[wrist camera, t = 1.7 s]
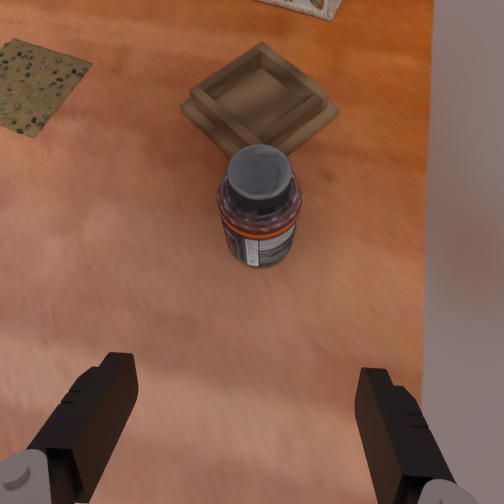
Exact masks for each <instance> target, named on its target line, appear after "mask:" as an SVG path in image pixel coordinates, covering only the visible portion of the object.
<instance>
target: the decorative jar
mask: <svg viewBox="0 0 504 504" xmlns="http://www.w3.org/2000/svg"><path fill="white" fill-rule="evenodd" d="M256 1H260V2H264V3H267V4H271V5H276V6H279V7H283V8H286V9H289V10H293V11H296V12H300V13H303V14H307V15H311V16H315V17H318V18H321V19H325V20H327V21H331V20H332V19H333V17H334V15H335V14H336V11H337V10H338V8H339V6H340V4H341V2H342V1H343V0H256Z"/></svg>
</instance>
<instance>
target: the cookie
mask: <svg viewBox="0 0 504 504" xmlns="http://www.w3.org/2000/svg"><path fill="white" fill-rule="evenodd" d="M91 66H92V63H90V62H87V61H84V60H81V59H77V58H74V57H71V56H69V55H65V54H61V53H58V52H55V51H51V50H48V49H45V48H42V47H40V46H36V45H32V44H29V43H26V42H23V41H20V40H17V39H12V40H11V41H10V42H8V43H5V44H4V47H3V48H1V50H0V126H2V127H5V128H8V129H9V130H12V131H15V132H17V133H20V134H24V135H26V136H28V137H32V138H34V137H36V136H37V135H38V133H39V132H40V131H41V130H42V129H43V127H44V125H45V124H46V123H47V122H48V121H49V119H50V118H51V116H52V115H53V114H54V113H55V112H56V111H57V110H58V108H59V107H60V105H61V104H62V103H63V101H64V100H65V99H66V98H67V96H68V95H69V94H70V92H71V91H73V88H74V87H75V86H76V85H77V84H78V83H79V82H80V81H81V79H82V77H83V76H84V75H85V74H86V72H87V71H88V70H89V68H90V67H91Z"/></svg>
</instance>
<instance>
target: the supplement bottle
mask: <svg viewBox="0 0 504 504" xmlns="http://www.w3.org/2000/svg"><path fill="white" fill-rule="evenodd" d="M217 202H218V207H219V212H220V216H221V220H222V224H223V227H224V232H225V235H226V240H227V244H228V247H229V249H230V251H231V253H232V254H233V256H234V257H235V258H236V259H237V260H238V261H239V262H240V263H242V264H244V265H246V266H248V267H252V268H259V269H262V268H268V267H271V266H274V265H276V264H278V263H279V262H280V261H281V260H283V259H284V257H285V256H286V255H287V254H288V252H289V249H290V247H291V245H292V241H293V237H294V233H295V229H296V225H297V221H298V217H299V213H300V208H301V203H302V189H301V185H300V182H299V180H298V178H297V176H296V175H295V173H294V172H293V171H292V168H291V163H290V161H289V159H288V158H287V156H286V155H285V154H284V153H283V152H281V151H280V150H279V149H277V148H275V147H273V146H269V145H265V144H256V145H250V146H247V147H245V148H243V149H241V150H239V151H238V152H237V153H236V154H234V155H233V157H232V158H231V160H230V162H229V164H228V168H227V172H226V173H225V174H224V176H223V177H222V179H221V181H220V183H219V186H218V191H217Z"/></svg>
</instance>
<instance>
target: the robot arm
mask: <svg viewBox="0 0 504 504" xmlns="http://www.w3.org/2000/svg"><path fill="white" fill-rule="evenodd" d="M137 396H138V380H137V374H136V368H135V362H134V356H133V354H132V353H119V352H110V353H108V354H107V355H106V357H105V358H104V360H103V361H102V363H101V364H100V366H99V367H93V366H92V367H91V368H90V369H88V370H87V371H86V372H84V373H83V374H82V375H81V376H79V377H78V378H77V380H76V381H75V383H74V384H73V385H72V387H71V388H70V389H69V392H68V393H67V394H66V395H65V396H64V398H63V399H62V400H61V404H59V405H58V406H57V407H56V409H55V410H54V412H53V413H52V414H51V416H50V417H49V418H48V420H47V421H46V423H45V424H44V425H43V427H42V428H41V430H40V431H39V432H38V434H37V435H36V436H35V438H34V439H33V441H32V442H31V443H30V445H29V446H28V447H27V449H26V450H24V451H20V452H17V453H15V454H13V455H11V456H9V457H8V458H6V459H5V460H3V461H2V462H1V463H0V504H74V503H88V504H89V502H90V499H91V497H92V495H93V493H94V491H95V489H96V487H97V484H98V482H99V480H100V478H101V476H102V474H103V472H104V469H105V467H106V465H107V463H108V461H109V459H110V457H111V454H112V452H113V450H114V448H115V446H116V444H117V442H118V439H119V437H120V435H121V433H122V431H123V429H124V427H125V425H126V422H127V420H128V418H129V416H130V414H131V412H132V410H133V407H134V405H135V403H136V400H137ZM355 417H356V421H357V425H358V429H359V433H360V436H361V440H362V444H363V448H364V452H365V456H366V459H367V463H368V467H369V471H370V475H371V478H372V482H373V486H374V490H375V494H376V498H377V501H378V504H478V502H477V501H476V500H475V499H474V498H473V497H472V496H471V495H470V494H469V493H468V492H467V491H466V490H464V489H463V488H462V487H460V486H458V485H457V483H456V482H455V480H454V478H453V476H452V474H451V472H450V470H449V468H448V466H447V464H446V462H445V460H444V458H443V456H442V453H441V451H440V449H439V447H438V445H437V443H436V441H435V439H434V437H433V435H432V433H431V431H430V430H429V428H428V427H429V426H428V424H427V422H426V420H425V418H424V417H423V416H422V412H421V410H420V408H419V406H418V404H417V402H416V400H415V398H414V397H413V396H412V395H411V394H410V393H409V392H408V391H407V390H406V389H405V388H404V387H403V386H394V385H393V383H392V381H391V379H390V376H389V374H388V372H387V370H386V369H381V368H364V367H363V368H362V369H361V372H360V377H359V382H358V386H357V391H356V396H355Z"/></svg>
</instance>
